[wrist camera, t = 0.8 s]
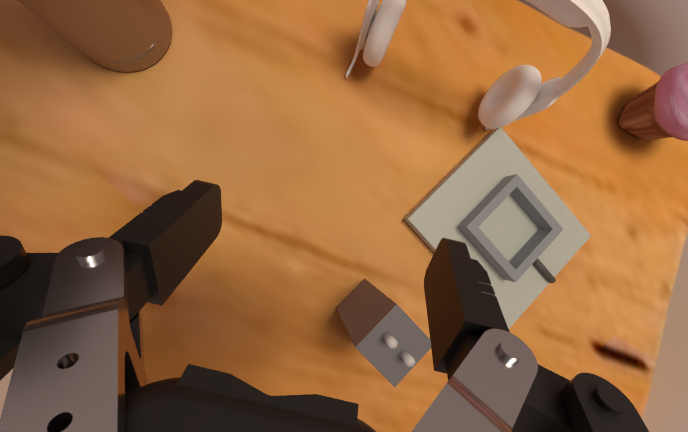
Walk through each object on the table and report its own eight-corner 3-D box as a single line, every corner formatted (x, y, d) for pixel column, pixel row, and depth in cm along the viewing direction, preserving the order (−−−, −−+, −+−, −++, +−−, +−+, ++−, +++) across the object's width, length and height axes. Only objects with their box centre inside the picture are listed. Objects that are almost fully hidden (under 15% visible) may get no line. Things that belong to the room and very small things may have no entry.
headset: (505, 99, 39) (682, -3, 21) (485, 150, 38) (651, 89, 21) (362, 22, 36) (429, -170, 18) (338, 76, 35) (384, -69, 18)
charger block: (335, 307, 35) (359, 355, 22) (364, 278, 35) (402, 309, 23) (363, 336, 35) (400, 397, 23) (391, 306, 36) (442, 351, 24)
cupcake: (596, 134, 41) (693, 106, 31) (616, 76, 41) (718, 30, 32) (648, 161, 42) (757, 143, 32) (667, 104, 43) (780, 69, 33)
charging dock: (403, 218, 36) (414, 218, 33) (492, 130, 38) (512, 121, 35) (499, 325, 38) (520, 335, 34) (580, 235, 40) (607, 236, 37)
